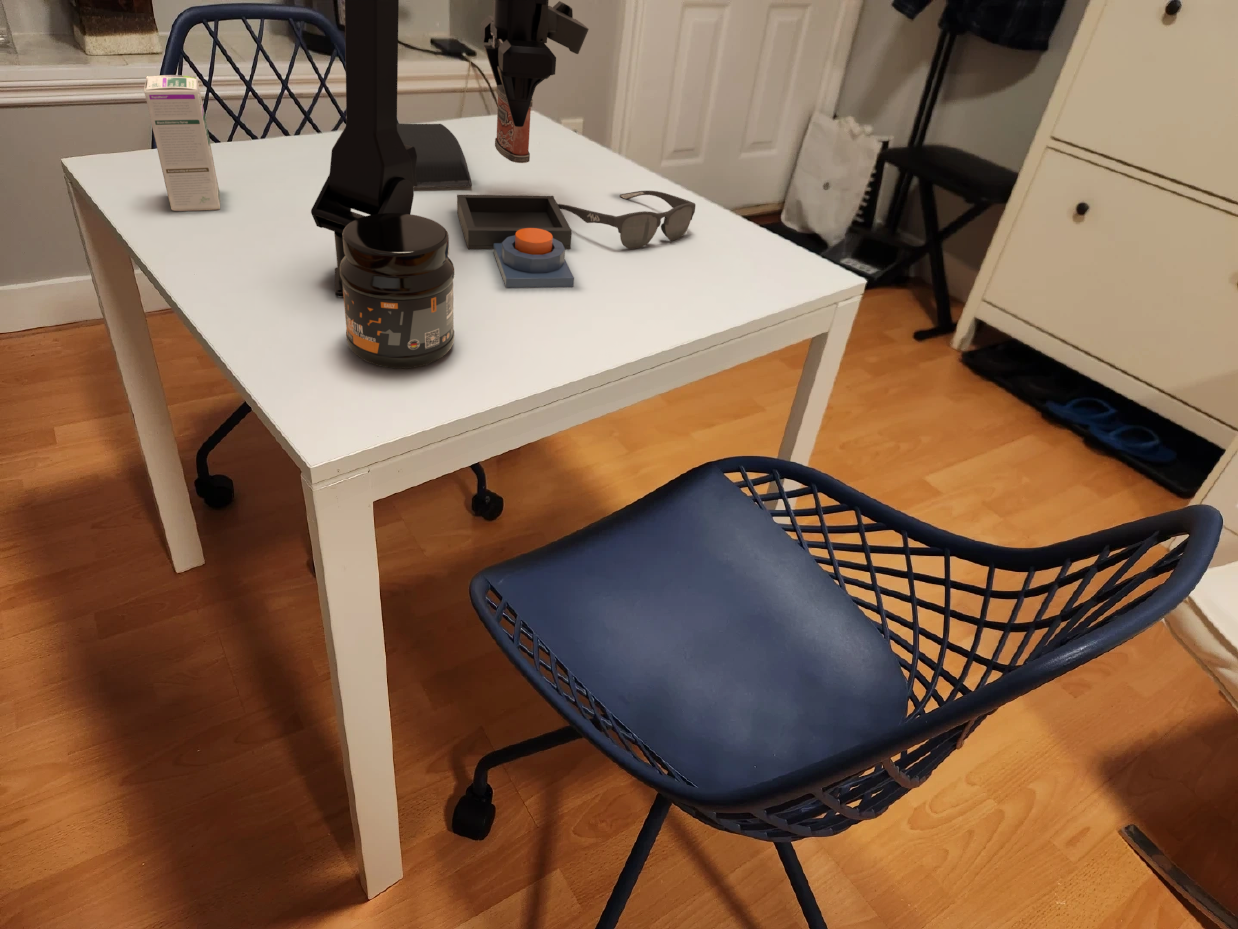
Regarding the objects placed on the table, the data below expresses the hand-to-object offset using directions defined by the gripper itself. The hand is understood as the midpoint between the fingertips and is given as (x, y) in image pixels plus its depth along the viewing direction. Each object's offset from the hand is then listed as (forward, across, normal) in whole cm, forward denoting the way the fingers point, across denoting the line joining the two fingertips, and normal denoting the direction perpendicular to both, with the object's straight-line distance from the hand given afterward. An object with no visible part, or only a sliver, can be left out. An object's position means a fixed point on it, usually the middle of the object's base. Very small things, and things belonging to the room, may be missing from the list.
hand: (513, 117), depth 110 cm
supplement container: (+13, -35, +17) cm, 41 cm away
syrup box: (+13, +3, +40) cm, 42 cm away
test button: (+10, -18, 0) cm, 21 cm away
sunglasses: (+13, -4, -15) cm, 20 cm away
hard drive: (+13, +18, +10) cm, 24 cm away
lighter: (+5, 0, 0) cm, 5 cm away
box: (+13, -18, 0) cm, 22 cm away
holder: (+13, -6, +1) cm, 14 cm away
